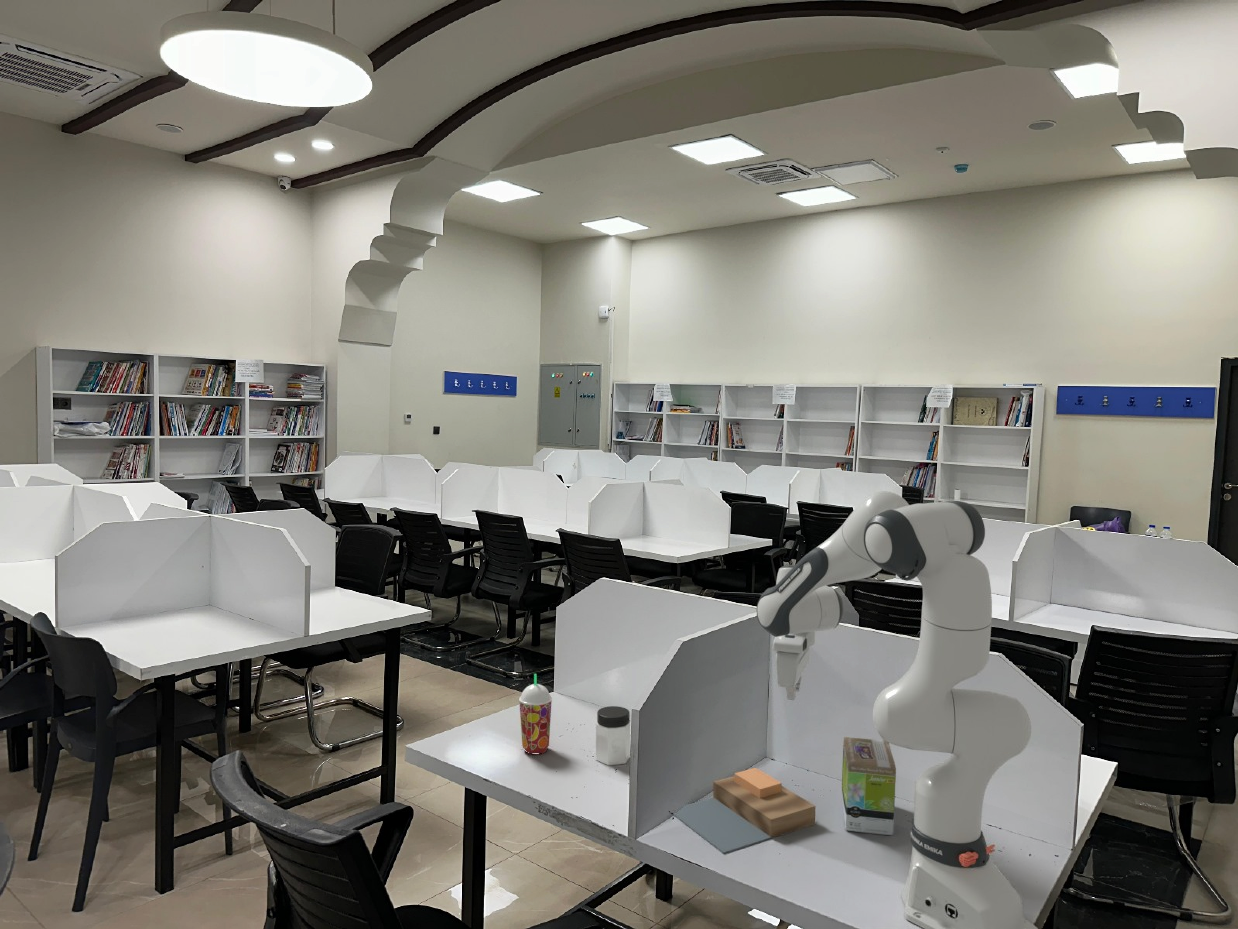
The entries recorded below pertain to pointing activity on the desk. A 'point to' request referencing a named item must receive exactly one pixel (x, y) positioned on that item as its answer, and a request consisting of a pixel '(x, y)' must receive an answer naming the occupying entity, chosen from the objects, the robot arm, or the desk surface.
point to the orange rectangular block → (758, 782)
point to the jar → (613, 735)
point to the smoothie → (535, 717)
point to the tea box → (868, 786)
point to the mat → (720, 825)
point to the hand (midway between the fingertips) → (793, 695)
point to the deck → (766, 808)
